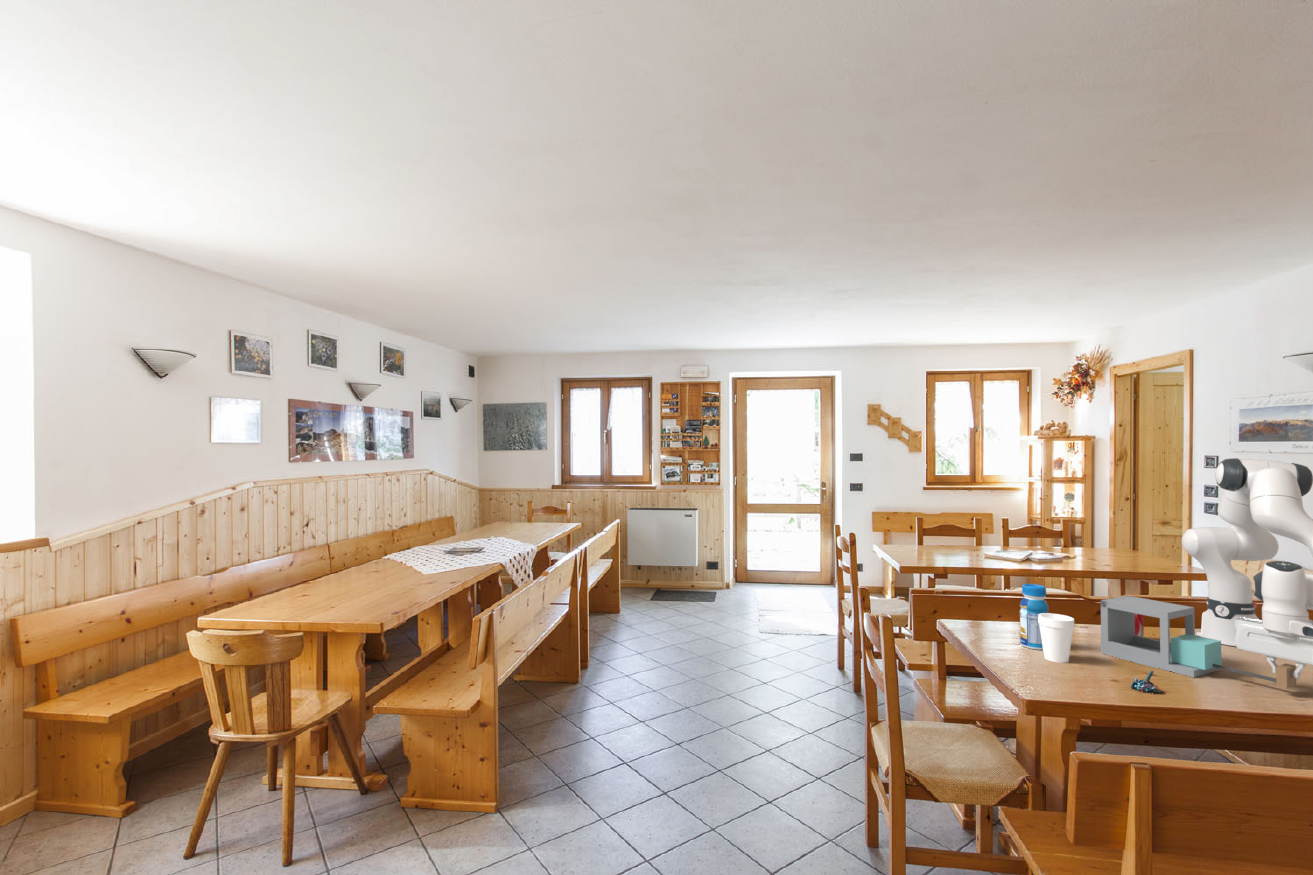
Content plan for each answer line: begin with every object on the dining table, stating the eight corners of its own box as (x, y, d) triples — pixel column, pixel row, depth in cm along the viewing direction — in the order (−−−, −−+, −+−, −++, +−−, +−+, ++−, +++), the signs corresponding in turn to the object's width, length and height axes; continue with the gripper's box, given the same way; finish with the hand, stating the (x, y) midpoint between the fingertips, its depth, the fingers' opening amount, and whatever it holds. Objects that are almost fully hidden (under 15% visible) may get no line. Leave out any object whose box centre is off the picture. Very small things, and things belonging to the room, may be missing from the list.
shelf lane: (1128, 647, 205) (1127, 595, 206) (1220, 669, 184) (1219, 611, 184) (1101, 653, 198) (1100, 600, 198) (1193, 677, 176) (1192, 617, 177)
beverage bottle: (1039, 651, 199) (1039, 589, 200) (1014, 644, 206) (1013, 584, 207) (1055, 648, 203) (1054, 586, 203) (1029, 641, 210) (1029, 582, 211)
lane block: (1188, 657, 188) (1187, 633, 188) (1299, 683, 166) (1298, 657, 167) (1171, 661, 184) (1171, 637, 184) (1283, 689, 162) (1283, 662, 162)
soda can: (1148, 644, 209) (1147, 608, 209) (1124, 642, 210) (1124, 607, 211) (1136, 638, 216) (1136, 603, 216) (1113, 636, 217) (1113, 602, 218)
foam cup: (1071, 657, 194) (1071, 615, 194) (1077, 666, 185) (1077, 622, 186) (1036, 652, 198) (1036, 611, 198) (1040, 661, 189) (1040, 618, 190)
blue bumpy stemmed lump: (1135, 674, 172) (1152, 666, 166) (1160, 697, 169) (1177, 689, 163) (1117, 690, 170) (1133, 682, 164) (1142, 713, 166) (1159, 706, 160)
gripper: (1229, 615, 173) (1230, 665, 173) (1334, 634, 155) (1335, 690, 155) (1240, 613, 176) (1241, 662, 176) (1343, 631, 158) (1345, 686, 158)
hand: (1286, 675), depth 165 cm, fingers closed on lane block, 2 cm apart
